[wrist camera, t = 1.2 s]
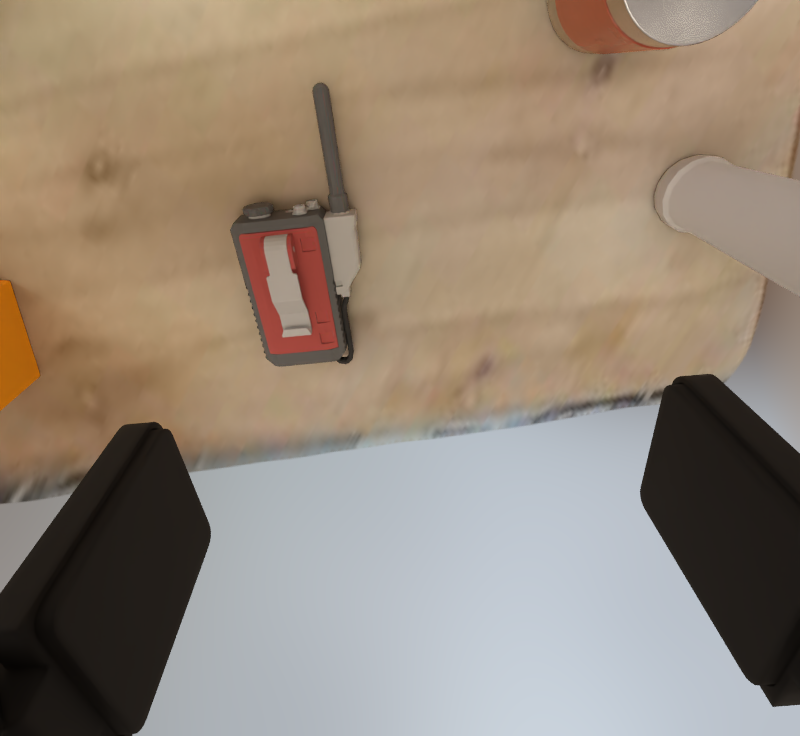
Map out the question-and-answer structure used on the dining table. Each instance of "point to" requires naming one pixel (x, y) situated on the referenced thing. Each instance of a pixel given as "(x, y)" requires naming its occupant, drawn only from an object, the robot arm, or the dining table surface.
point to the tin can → (641, 23)
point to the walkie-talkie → (302, 265)
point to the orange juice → (13, 349)
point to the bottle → (736, 213)
